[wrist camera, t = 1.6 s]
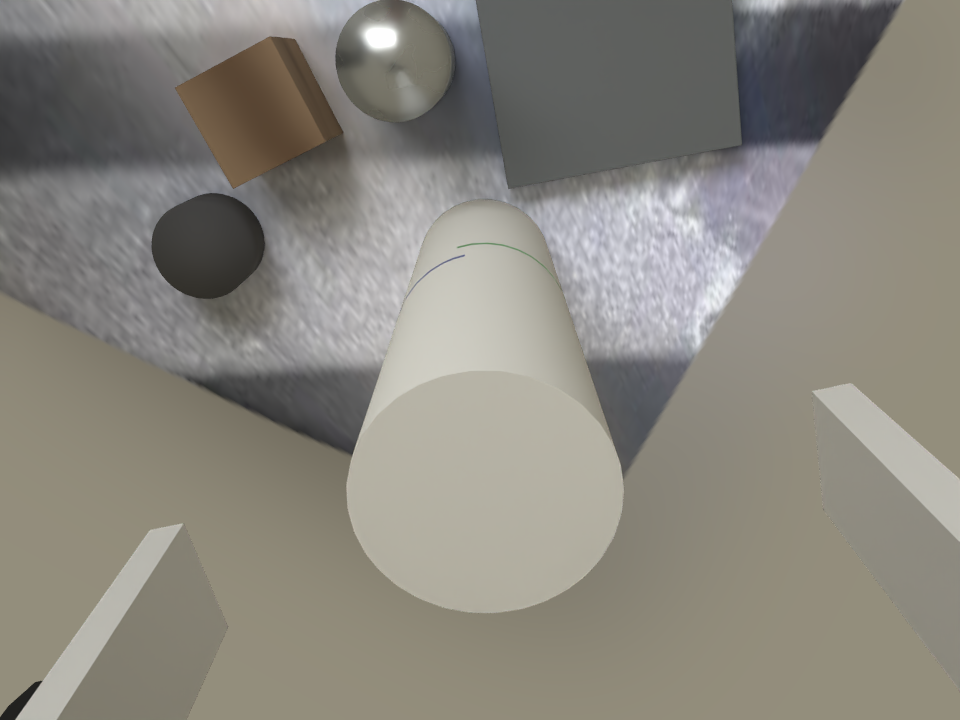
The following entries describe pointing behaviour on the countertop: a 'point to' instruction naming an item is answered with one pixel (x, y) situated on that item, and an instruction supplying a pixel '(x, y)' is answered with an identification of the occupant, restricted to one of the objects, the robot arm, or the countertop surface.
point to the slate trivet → (608, 83)
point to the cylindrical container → (484, 427)
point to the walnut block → (259, 109)
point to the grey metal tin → (394, 60)
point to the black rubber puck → (208, 245)
